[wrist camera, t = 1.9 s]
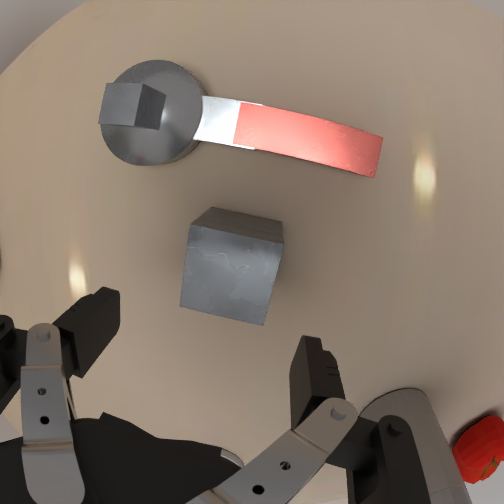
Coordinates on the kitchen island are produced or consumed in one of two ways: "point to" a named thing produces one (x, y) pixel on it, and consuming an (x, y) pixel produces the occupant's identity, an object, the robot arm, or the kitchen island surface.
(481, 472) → the tomato
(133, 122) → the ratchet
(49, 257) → the kitchen island surface
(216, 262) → the brushed metal cube
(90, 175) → the kitchen island surface
